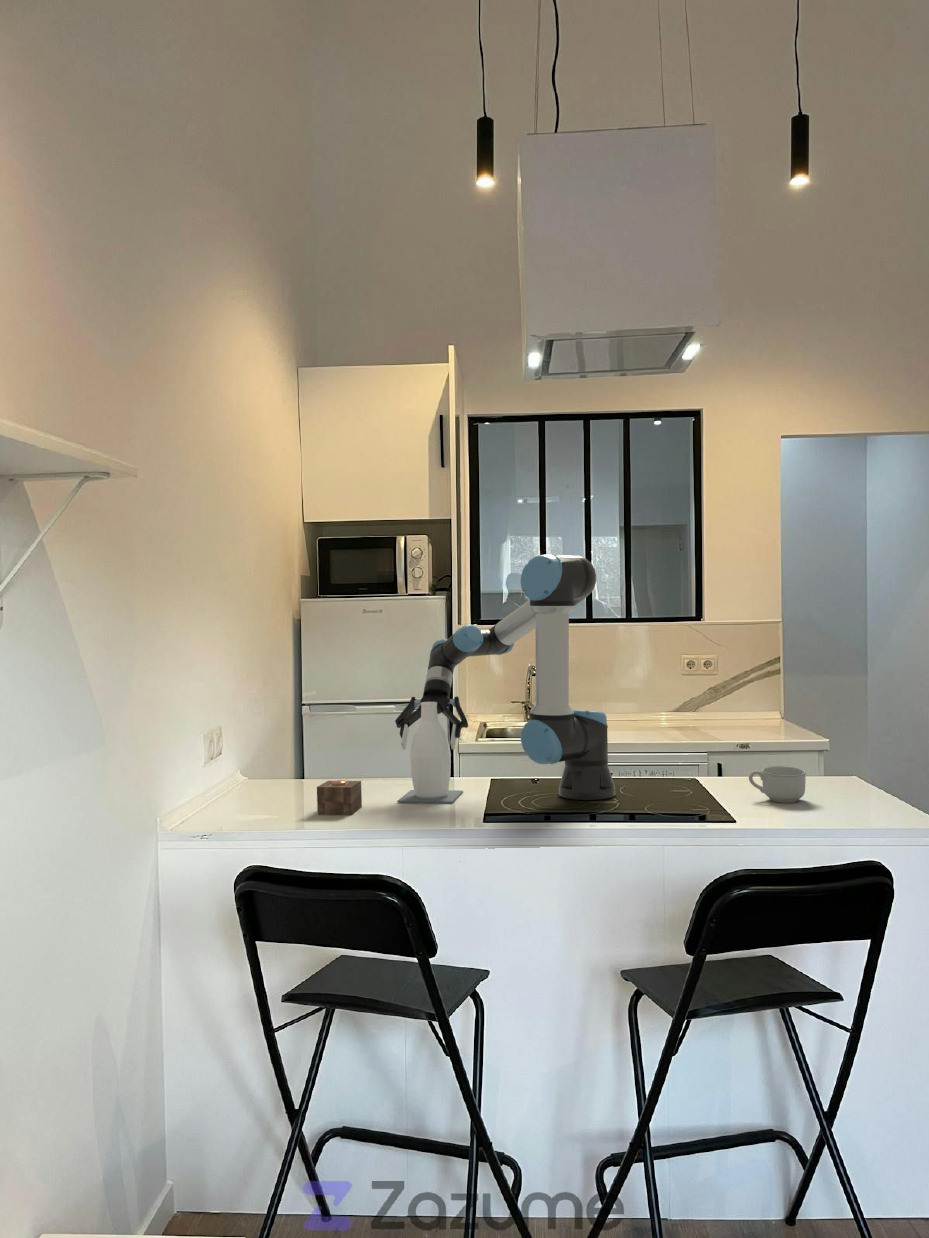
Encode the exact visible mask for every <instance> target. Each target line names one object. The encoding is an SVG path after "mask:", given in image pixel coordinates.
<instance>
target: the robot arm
mask: <svg viewBox="0 0 929 1238" xmlns="http://www.w3.org/2000/svg"><path fill="white" fill-rule="evenodd" d="M594 567H595V566H593V564H592V563H591V561H590V560H589V559H587V558H585V557H584V556H581V555H578V554H571V555H569V554H553V553H552V554H550V553H548V554H539V555H536V556H533V557H531V559H529V560H528V562H527V563H526V564H525V565H524V567H523V569H522V570H521V574H520V587H521V591H522V592H523V595H524V596H525V597H526V598H528V600H527V601H526V602H525V603H523V604H521V606H519V607H517V608H516V609H515V610H514V611H512V612H511V613H510V614H508V615H507V616H505V617H504V618H502V619H501V620H499V621H498V622H497V623H496V624H494V625H493V626H491V627H490V628H488V629H479V627H477V626H474V625H473V624H470V623H468V624H465V625H463V626H462V627H460V628H458V629H457V630H456V631H455V632H454V633H453V634H452V635H451V636H450V637H448V638H447V639H446V638H443V639H442V638H441V639H440V640H436V641H435V642H434V643H433V644H432V646H431V650H430V653H429V660H428V664H427V665H428V666H427V671H426V678H425V683H424V688H423V694H422V697H421V699H420V698H416V697H415V696H411V697H410V699H409V700H410V701H409V703H408V704H407V705H406V707H404V709H403V710H402V711H401V713H400V714H398V717H397V718H396V719H395V720H394V721H395V722H394V723H395V725H396V728H397V729H399V737H400V738H401V741H400V745H401V748H402V750H407V743H408V738H409V735H410V734H409V733H410V729H409V728H410V727H411V726H412V725H413V724H415V722H417V721H418V720H420V719H421V703H422V702H437V715H440V714H441V713H442V714H443V715H444V717H446V718H447V719H448V720H449V721H450V722H451V724H452V728H451V735H450V740H449V741H450V742H449V746H450V749H451V750H455V748H456V741H457V739H459V738H460V737H461V733H462V732H461V731H462V730H463V728H466V729H467V728H469V723H468V719H467V717H466V715H465V713H464V711H463V709H462V706H461V703H460V698H459V696H454V698H450V696H451V691H452V689H451V688H452V685H453V684H452V683H453V677H454V672H455V671H454V670H455V668H456V667H457V666H458V665H459V664H461V663H462V662H463V661H464V660H465V659H466V658H468V657H469V658H470V657H479V656H480V657H481V656H494V655H496V656H501V655H504V654H507V653H510V652H511V651H512V649H513V647H514V646H515V643H516V642H518V641H519V640H521V639H522V638H523V637H525V636H526V635H527V634H529V633H531V632H532V631H533V630H535V704H534V706H533V707H532V708H531V709H530V710H529V721H527V722H525V724H524V725H523V727H522V729H521V731H520V744H521V746H522V749H523V751H524V753H525V754H526V755H527V757H528V758H529V759H530V760H531V761H533V762H534V763H536V764H538V765H539V764H540V765H554V764H558V763H561V762H564V769H563V772H562V775H561V778H560V782H559V786H558V795H559V797H561V798H564V799H570V800H575V801H576V800H578V801H593V800H594V801H597V800H604V799H610V798H613V797H614V796H616V786H615V785H616V784H615V782H614V780H613V777H612V774H611V771H610V768H609V751H608V727H609V726H608V720H607V719H608V718H607V715H606V713H605V712H603V711H598V710H585V709H584V710H583V709H573V708H572V707H571V706H570V705H569V704H570V703H569V702H570V701H569V700H570V699H569V695H570V694H569V691H570V688H569V686H570V685H569V682H570V680H569V679H570V676H569V675H570V674H569V673H570V671H569V670H570V669H569V668H570V666H569V664H570V663H569V661H570V659H569V658H570V657H569V655H570V654H569V651H570V650H569V649H570V648H569V647H570V646H569V639H570V636H569V635H570V632H569V631H570V630H569V629H570V624H569V623H570V620H569V619H570V617H569V616H570V612H571V611H572V610H573V609H574V608H575V606H576V605H578V604H580V603H581V602H582V601H584V600H585V599H586V598H587V597H588V596H590V594H592V592H593V591H594V588H595V587H596V583H597V573H596V569H595V568H594ZM450 705H452V707H453V708H455V710H456V712H457V715H458V717H459V719H458V717H457V716H456V715H455V714H454V713H453V712H452V711H451V710H450V709H449V706H450ZM416 708H417V709H416Z"/></svg>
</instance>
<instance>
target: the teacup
mask: <svg viewBox="0 0 929 1238" xmlns="http://www.w3.org/2000/svg"><path fill="white" fill-rule="evenodd" d="M755 775H758V776H759V777H760V780H761V781H762V785H759V784H757V783H756V782H755V780H754V779H753V777H754V776H755ZM806 775H807V771H806V770H805V769H802V768H800V767H796V766H795V767H794V766H788V765H787V766H785V765H779V766H777V765H773V766H767V767H764V768H762V770H761V771H760V770H756V769H754V770H752V771H750V773H749V774H748V780H749V783H750V785H752V786H753V787H754V788H756V789H758V790H759V792H760V793H761V794H764V795H765V796H767V798H769V800H770V801H772V802H776V803H783V804H791V803H796V802H798V801H799V800H800V799H801V798H802V797H804V795H805V792H806Z"/></svg>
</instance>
